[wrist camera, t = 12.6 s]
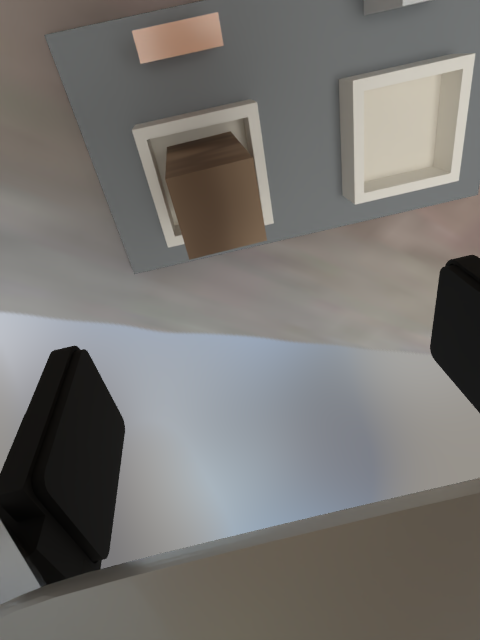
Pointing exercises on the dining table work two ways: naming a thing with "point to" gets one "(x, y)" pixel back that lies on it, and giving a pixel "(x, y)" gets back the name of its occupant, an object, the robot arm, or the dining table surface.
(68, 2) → the dining table surface
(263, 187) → the tag board
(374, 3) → the pale grey tag
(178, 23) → the terracotta tag
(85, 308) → the dining table surface
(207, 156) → the walnut plug
